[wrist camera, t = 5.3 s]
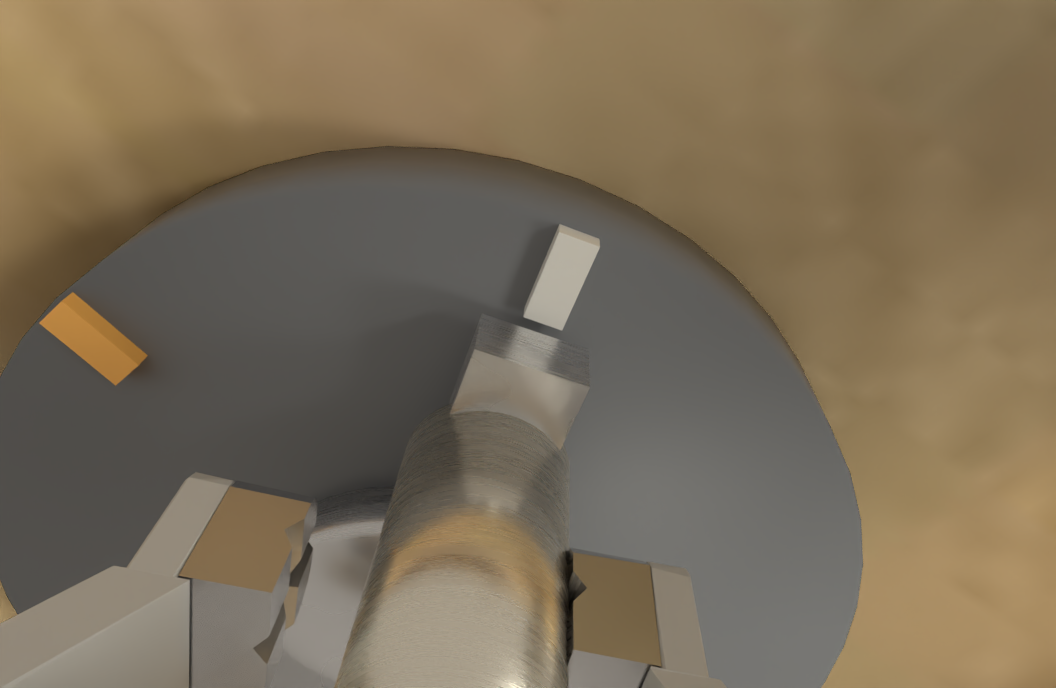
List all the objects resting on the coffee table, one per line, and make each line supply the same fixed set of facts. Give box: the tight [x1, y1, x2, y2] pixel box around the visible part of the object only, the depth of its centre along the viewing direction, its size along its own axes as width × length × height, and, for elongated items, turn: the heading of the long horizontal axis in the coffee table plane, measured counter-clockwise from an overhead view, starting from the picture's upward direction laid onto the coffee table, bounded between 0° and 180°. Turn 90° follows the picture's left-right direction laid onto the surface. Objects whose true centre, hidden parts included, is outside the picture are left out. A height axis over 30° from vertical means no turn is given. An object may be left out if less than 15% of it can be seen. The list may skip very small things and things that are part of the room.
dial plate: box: [0, 146, 863, 688], centre depth 16 cm, size 16×16×2 cm
